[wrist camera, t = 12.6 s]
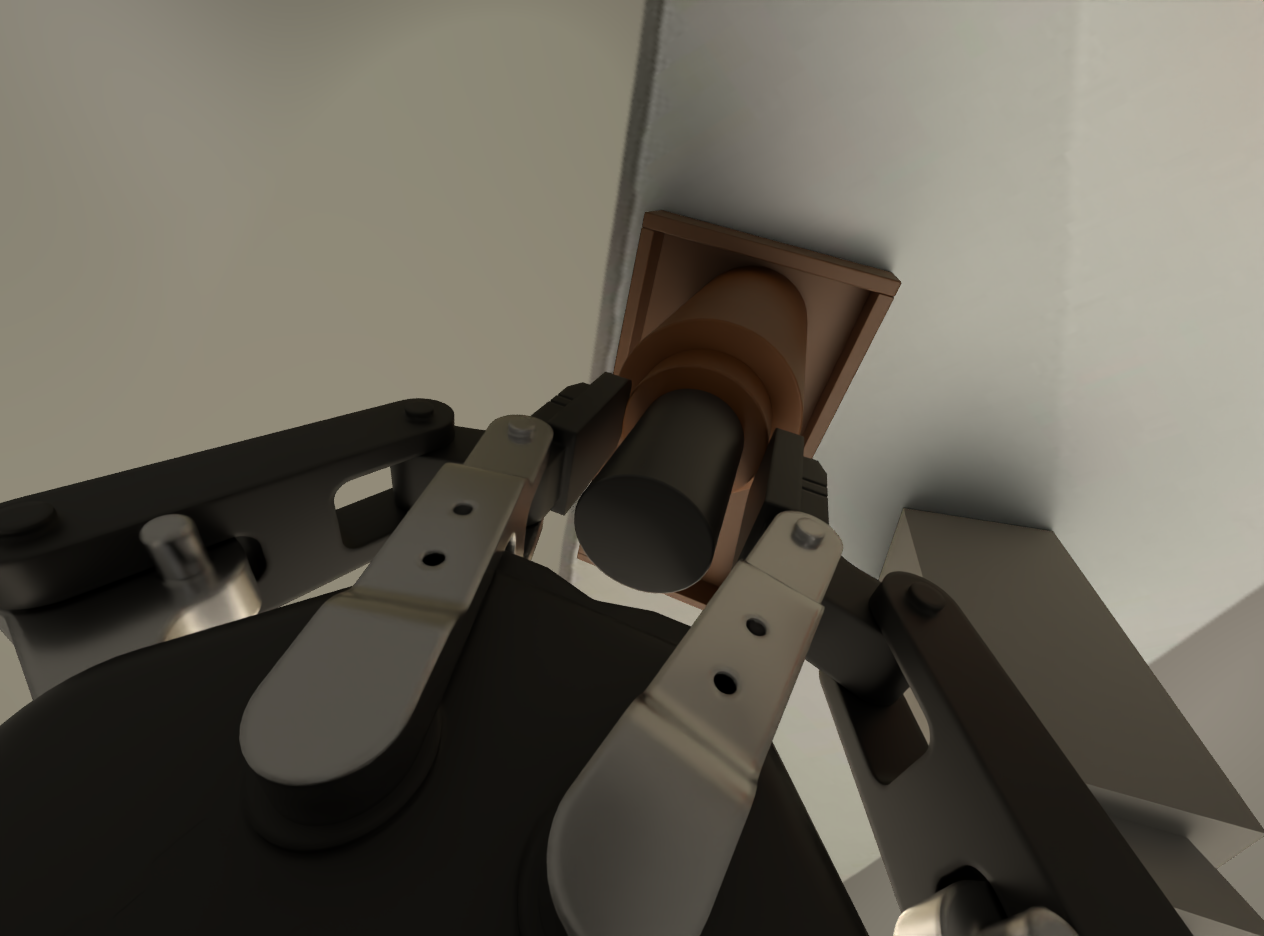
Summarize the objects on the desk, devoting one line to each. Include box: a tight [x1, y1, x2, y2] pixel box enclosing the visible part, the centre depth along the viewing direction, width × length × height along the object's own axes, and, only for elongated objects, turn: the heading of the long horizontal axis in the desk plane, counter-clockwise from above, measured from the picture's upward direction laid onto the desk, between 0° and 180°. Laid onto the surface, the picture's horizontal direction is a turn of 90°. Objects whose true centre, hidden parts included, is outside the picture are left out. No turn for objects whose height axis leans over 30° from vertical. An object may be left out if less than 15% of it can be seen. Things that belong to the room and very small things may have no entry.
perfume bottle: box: [878, 508, 1264, 936], centre depth 19 cm, size 7×7×18 cm
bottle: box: [574, 266, 808, 593], centre depth 16 cm, size 6×6×17 cm
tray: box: [577, 210, 901, 610], centre depth 26 cm, size 21×11×3 cm, turn 168°
